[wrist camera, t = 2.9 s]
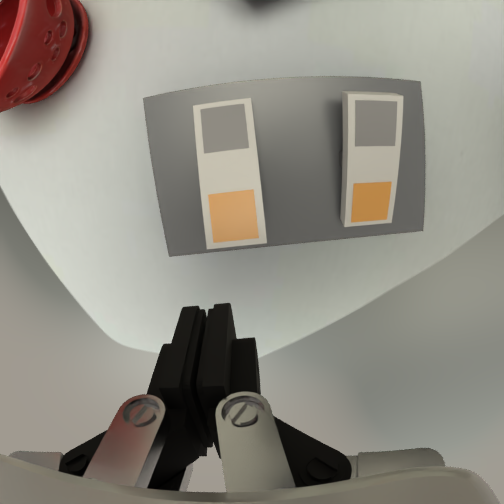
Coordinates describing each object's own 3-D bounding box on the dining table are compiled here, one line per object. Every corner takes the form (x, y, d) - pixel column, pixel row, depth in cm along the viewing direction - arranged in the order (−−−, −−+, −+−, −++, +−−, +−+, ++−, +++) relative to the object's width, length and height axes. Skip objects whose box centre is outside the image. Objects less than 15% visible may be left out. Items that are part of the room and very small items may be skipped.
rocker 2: (395, 93, 18) (403, 96, 17) (385, 214, 24) (391, 223, 23) (342, 91, 18) (348, 94, 17) (340, 218, 24) (344, 227, 23)
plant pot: (-9, 55, 20) (-84, 49, 9) (77, -26, 17) (13, -69, 6) (25, 140, 24) (-60, 160, 13) (123, 57, 22) (49, 24, 11)
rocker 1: (251, 103, 21) (250, 97, 20) (266, 241, 22) (266, 243, 21) (196, 110, 21) (192, 105, 20) (209, 247, 22) (206, 249, 21)
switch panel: (404, 84, 23) (427, 80, 19) (408, 220, 28) (429, 235, 24) (154, 100, 24) (138, 97, 20) (176, 243, 28) (166, 262, 25)
